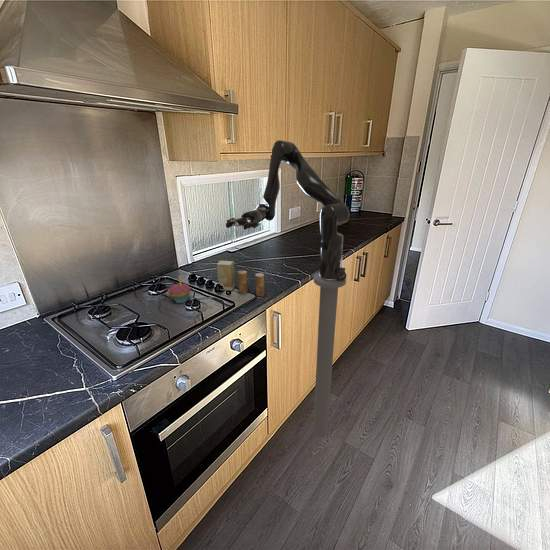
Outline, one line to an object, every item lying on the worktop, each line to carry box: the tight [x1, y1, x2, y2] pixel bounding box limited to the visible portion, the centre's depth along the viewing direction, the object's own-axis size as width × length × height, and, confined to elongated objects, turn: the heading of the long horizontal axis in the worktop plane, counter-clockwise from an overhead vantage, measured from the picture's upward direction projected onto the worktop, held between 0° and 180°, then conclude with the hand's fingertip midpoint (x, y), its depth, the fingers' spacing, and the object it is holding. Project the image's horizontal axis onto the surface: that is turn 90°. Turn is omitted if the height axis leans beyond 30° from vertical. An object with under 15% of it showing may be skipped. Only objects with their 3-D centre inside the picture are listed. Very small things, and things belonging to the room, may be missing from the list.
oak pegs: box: [237, 270, 266, 297], centre depth 122 cm, size 12×4×9 cm, turn 68°
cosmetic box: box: [216, 260, 236, 292], centre depth 126 cm, size 6×4×12 cm
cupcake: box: [167, 275, 192, 304], centre depth 116 cm, size 9×8×12 cm
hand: (235, 226), depth 127 cm, fingers open, 8 cm apart
